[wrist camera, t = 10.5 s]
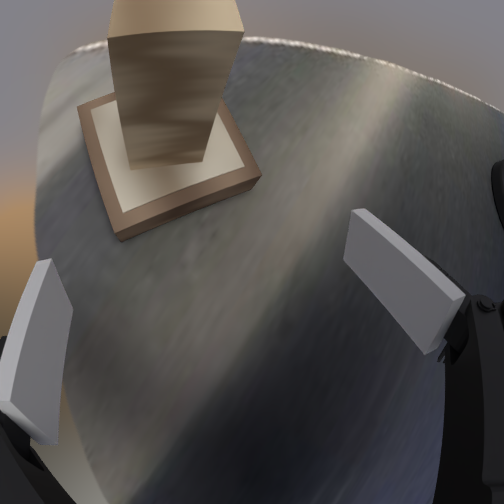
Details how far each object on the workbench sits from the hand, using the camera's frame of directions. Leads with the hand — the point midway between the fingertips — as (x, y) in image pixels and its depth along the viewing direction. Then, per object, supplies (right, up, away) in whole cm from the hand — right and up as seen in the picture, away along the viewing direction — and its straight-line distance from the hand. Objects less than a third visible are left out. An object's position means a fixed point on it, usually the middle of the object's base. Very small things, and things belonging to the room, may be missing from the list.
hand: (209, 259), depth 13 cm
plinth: (-5, +8, +11) cm, 14 cm away
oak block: (-5, +9, +8) cm, 12 cm away
